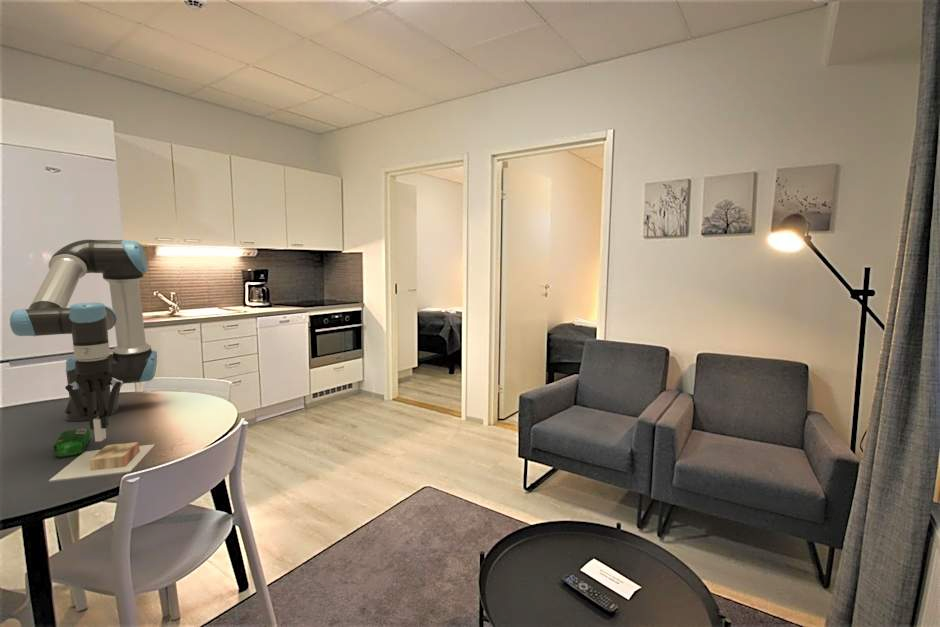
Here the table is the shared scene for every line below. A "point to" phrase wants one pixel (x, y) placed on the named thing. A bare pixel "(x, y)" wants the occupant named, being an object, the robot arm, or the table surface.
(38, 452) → the table surface
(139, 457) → the cream board
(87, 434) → the snack package
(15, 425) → the table surface
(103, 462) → the oak slab
